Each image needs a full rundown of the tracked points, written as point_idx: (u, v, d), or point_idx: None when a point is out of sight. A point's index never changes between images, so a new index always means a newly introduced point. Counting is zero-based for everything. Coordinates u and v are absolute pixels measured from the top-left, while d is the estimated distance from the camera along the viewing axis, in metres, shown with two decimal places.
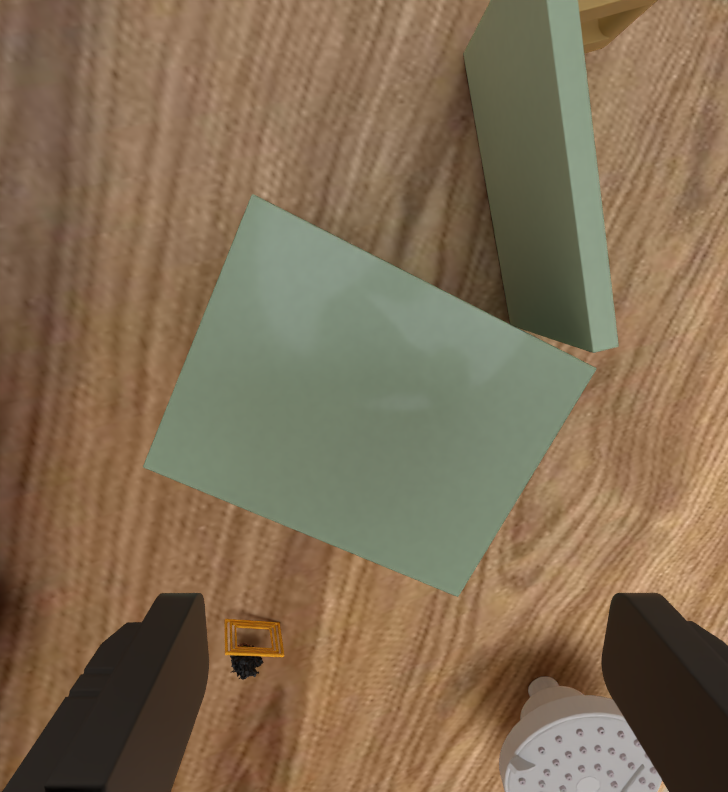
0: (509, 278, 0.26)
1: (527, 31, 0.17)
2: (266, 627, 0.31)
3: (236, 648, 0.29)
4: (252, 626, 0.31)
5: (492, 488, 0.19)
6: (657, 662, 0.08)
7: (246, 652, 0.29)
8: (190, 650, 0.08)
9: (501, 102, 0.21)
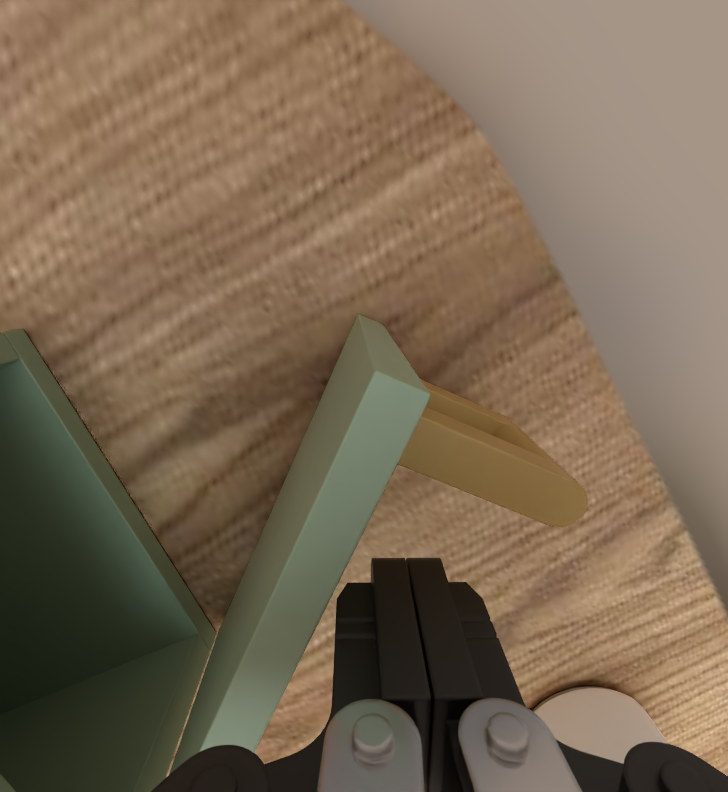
0: (237, 593, 0.18)
1: (318, 463, 0.10)
2: None
3: None
4: None
5: None
6: None
7: None
8: None
9: (309, 446, 0.13)
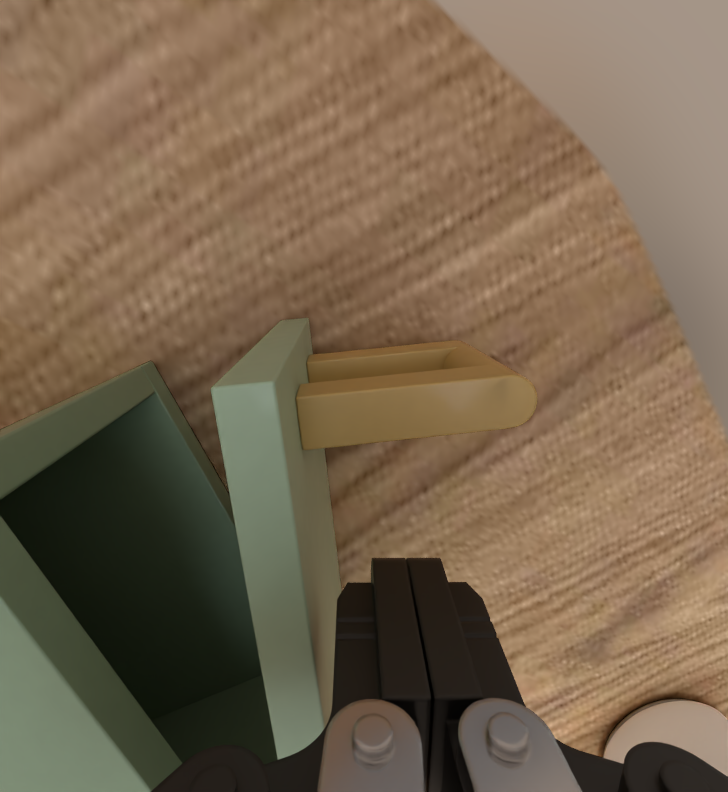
0: None
1: None
2: None
3: None
4: None
5: None
6: None
7: None
8: None
9: None
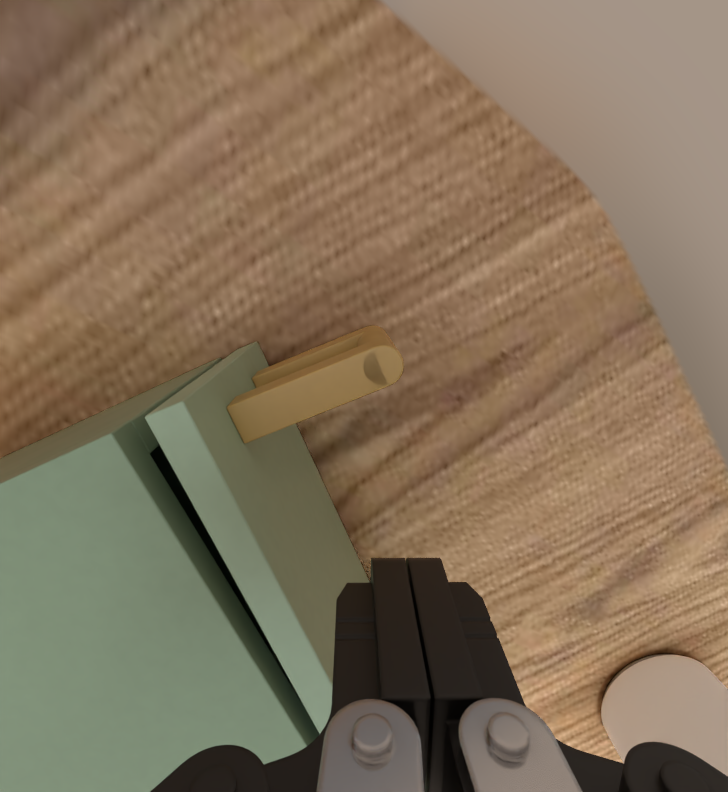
0: None
1: None
2: None
3: None
4: None
5: None
6: None
7: None
8: None
9: None
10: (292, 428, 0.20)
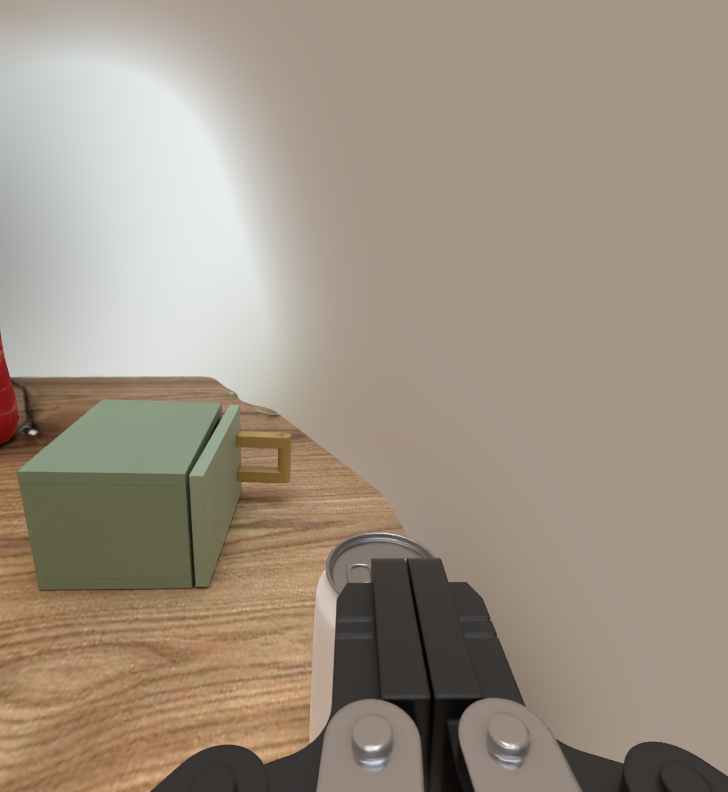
0: None
1: None
2: None
3: None
4: None
5: (101, 464, 0.34)
6: None
7: None
8: None
9: None
10: (234, 503, 0.46)
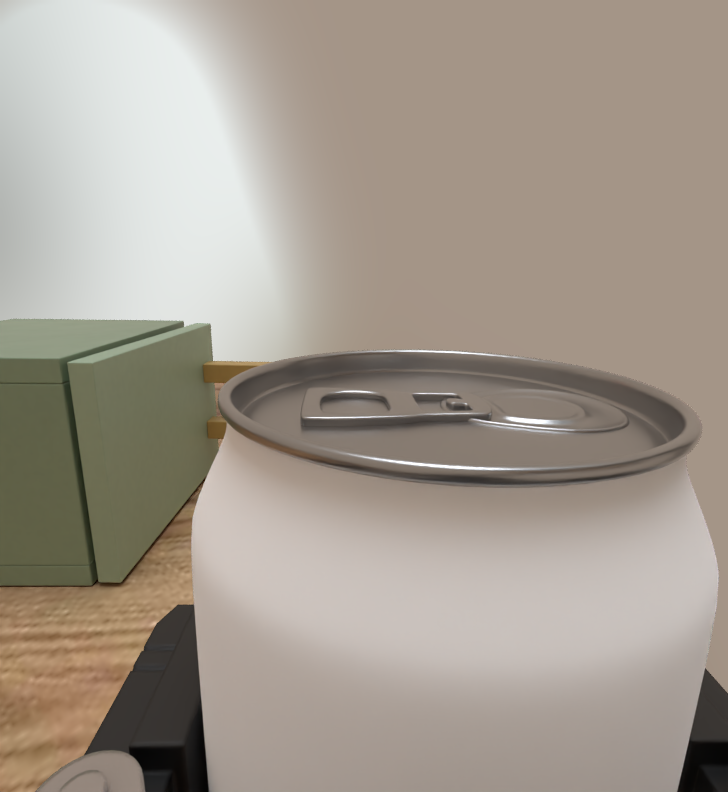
0: None
1: None
2: None
3: None
4: None
5: None
6: None
7: None
8: None
9: None
10: (199, 468, 0.30)
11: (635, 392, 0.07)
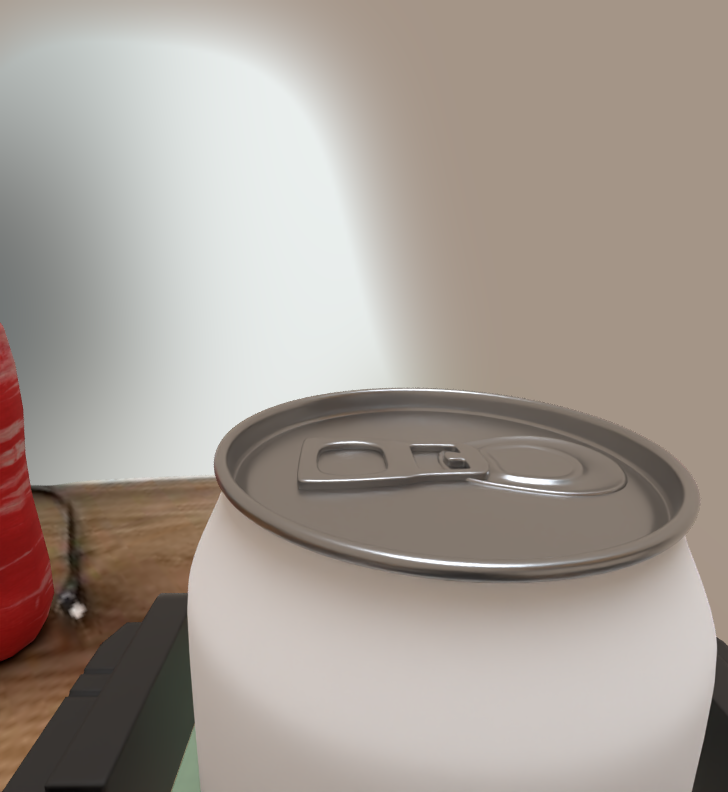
0: None
1: None
2: None
3: None
4: None
5: None
6: None
7: None
8: None
9: None
10: None
11: (634, 444, 0.07)
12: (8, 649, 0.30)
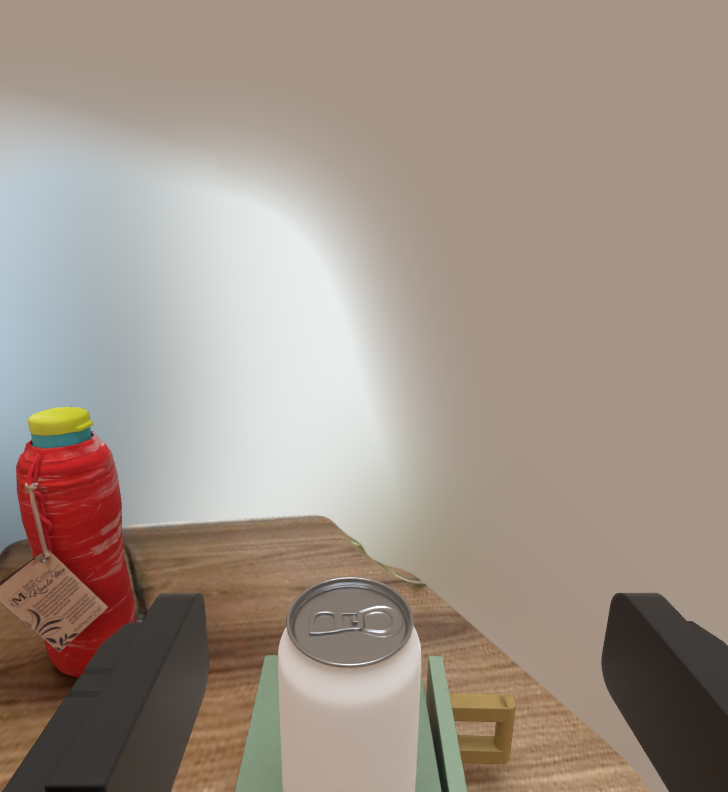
0: None
1: (431, 704, 0.33)
2: None
3: None
4: None
5: None
6: (657, 662, 0.08)
7: None
8: (190, 650, 0.08)
9: None
10: None
11: (410, 613, 0.22)
12: None
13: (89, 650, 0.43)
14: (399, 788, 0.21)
